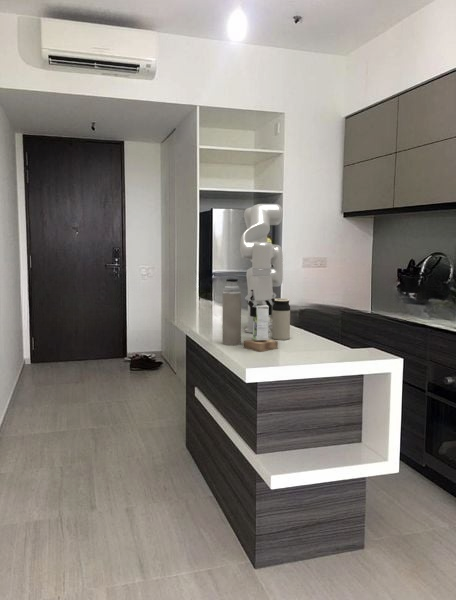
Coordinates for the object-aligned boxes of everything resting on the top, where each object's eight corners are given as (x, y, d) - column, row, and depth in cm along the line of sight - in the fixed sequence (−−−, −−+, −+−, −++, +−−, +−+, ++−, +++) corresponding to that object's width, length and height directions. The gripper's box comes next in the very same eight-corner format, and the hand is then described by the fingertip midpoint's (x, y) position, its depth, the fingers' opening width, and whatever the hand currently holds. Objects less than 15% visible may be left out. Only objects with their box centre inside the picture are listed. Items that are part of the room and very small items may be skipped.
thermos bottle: (226, 341, 236) (226, 278, 233) (243, 342, 233) (243, 278, 230) (219, 344, 228) (220, 279, 225) (237, 345, 226) (238, 279, 223)
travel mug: (293, 339, 242) (293, 299, 239) (279, 340, 237) (279, 300, 235) (282, 336, 248) (283, 297, 246) (268, 337, 244) (269, 298, 242)
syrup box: (252, 338, 224) (252, 303, 222) (266, 337, 224) (266, 303, 222) (254, 340, 218) (254, 305, 216) (268, 340, 219) (269, 305, 217)
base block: (261, 344, 228) (261, 337, 228) (277, 348, 221) (277, 341, 220) (243, 347, 222) (243, 340, 222) (259, 351, 214) (259, 344, 214)
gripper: (270, 271, 226) (269, 312, 228) (239, 273, 215) (238, 316, 217) (282, 272, 220) (282, 314, 223) (251, 274, 209) (251, 318, 212)
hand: (260, 315), depth 220 cm, fingers closed on syrup box, 7 cm apart
